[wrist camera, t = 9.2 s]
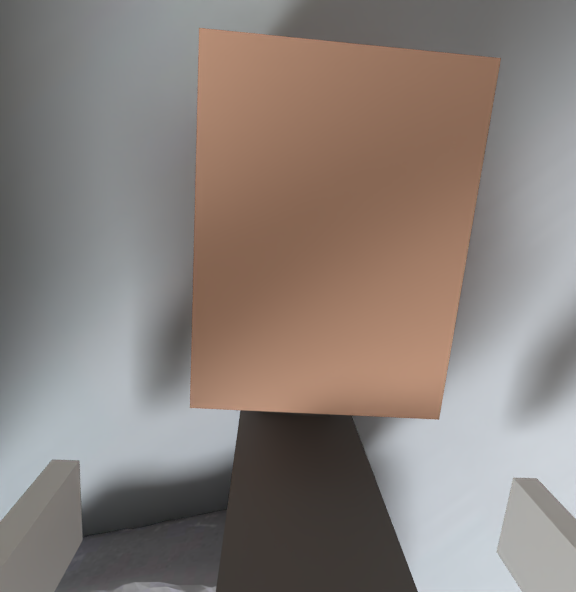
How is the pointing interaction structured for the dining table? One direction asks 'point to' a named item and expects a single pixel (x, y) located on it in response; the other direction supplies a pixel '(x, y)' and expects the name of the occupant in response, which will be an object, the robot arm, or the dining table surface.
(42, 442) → the dining table surface
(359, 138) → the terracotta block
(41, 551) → the robot arm
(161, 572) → the stone block
